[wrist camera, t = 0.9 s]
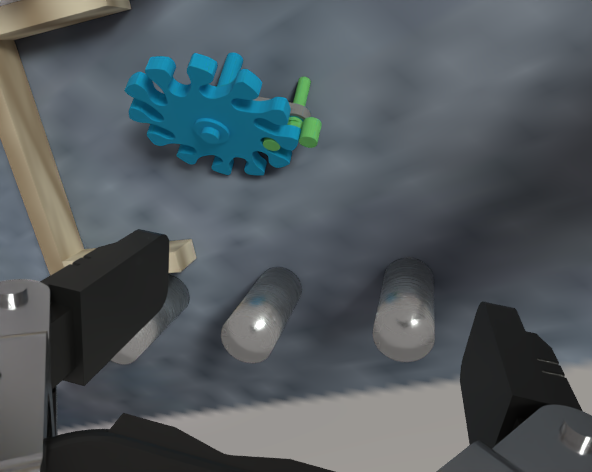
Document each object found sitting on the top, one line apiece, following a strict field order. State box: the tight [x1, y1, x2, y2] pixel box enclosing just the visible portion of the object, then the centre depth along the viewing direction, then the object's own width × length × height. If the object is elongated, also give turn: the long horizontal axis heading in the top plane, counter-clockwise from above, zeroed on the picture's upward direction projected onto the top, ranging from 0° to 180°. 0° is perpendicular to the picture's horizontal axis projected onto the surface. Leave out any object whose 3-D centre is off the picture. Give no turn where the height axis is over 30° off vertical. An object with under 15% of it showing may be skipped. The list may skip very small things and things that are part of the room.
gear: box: [125, 53, 321, 175], centre depth 28 cm, size 11×6×10 cm
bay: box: [0, 0, 196, 276], centre depth 33 cm, size 11×18×2 cm, turn 11°
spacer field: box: [111, 258, 435, 364], centre depth 28 cm, size 21×27×7 cm
